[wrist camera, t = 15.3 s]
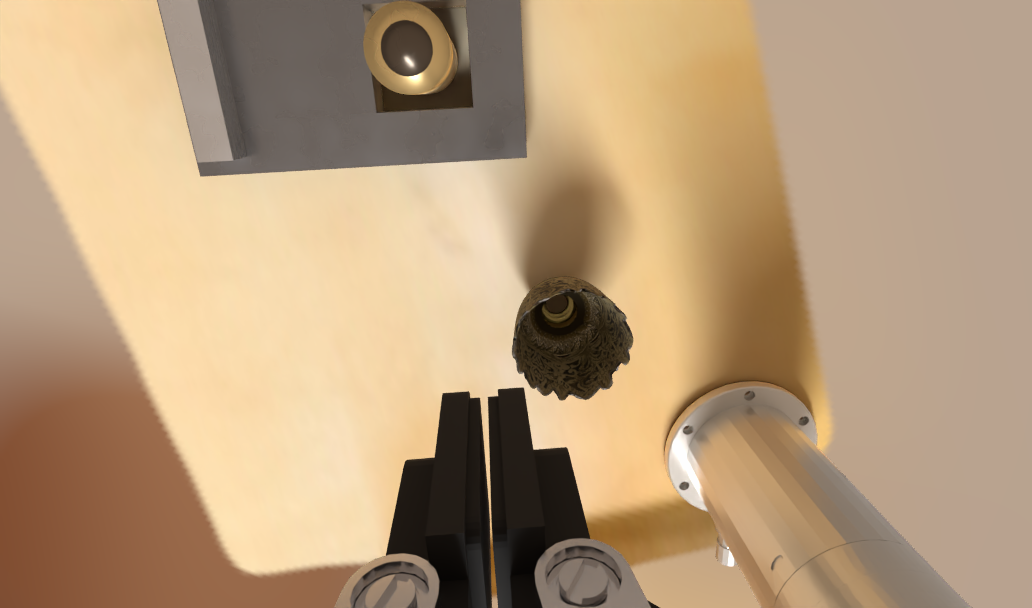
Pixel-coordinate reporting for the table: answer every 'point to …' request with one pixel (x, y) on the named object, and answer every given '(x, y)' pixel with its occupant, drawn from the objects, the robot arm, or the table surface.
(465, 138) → the plate
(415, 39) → the brass bushing
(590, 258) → the table surface
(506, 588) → the robot arm
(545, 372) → the cup
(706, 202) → the table surface
